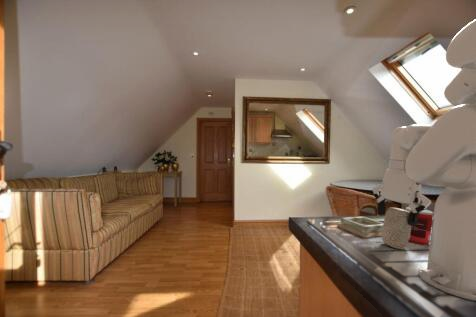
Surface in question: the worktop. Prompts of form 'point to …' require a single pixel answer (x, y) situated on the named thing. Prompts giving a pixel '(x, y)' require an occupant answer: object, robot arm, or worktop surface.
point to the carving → (396, 228)
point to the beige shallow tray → (362, 226)
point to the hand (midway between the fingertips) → (395, 219)
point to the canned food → (421, 228)
